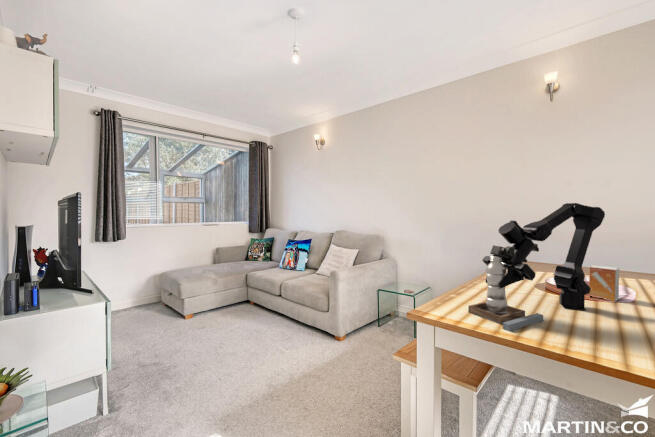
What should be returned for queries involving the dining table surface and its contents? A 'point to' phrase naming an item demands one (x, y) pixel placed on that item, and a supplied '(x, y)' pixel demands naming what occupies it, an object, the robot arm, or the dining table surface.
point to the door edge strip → (522, 321)
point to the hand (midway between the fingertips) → (492, 284)
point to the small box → (604, 282)
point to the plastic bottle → (496, 285)
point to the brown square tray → (496, 313)
